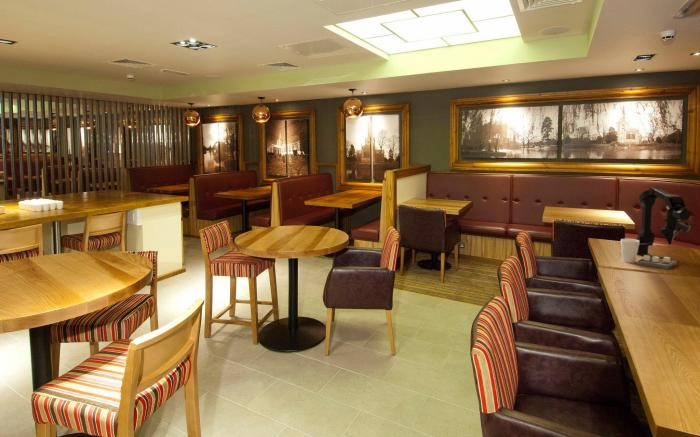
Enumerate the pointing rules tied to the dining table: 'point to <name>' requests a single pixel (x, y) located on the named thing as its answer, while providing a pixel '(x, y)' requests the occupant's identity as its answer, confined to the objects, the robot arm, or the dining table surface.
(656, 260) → the breaker middle
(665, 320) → the dining table surface
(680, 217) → the robot arm
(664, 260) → the breaker
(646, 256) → the breaker
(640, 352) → the dining table surface
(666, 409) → the dining table surface
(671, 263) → the breaker panel
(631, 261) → the foam cup
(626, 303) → the dining table surface
